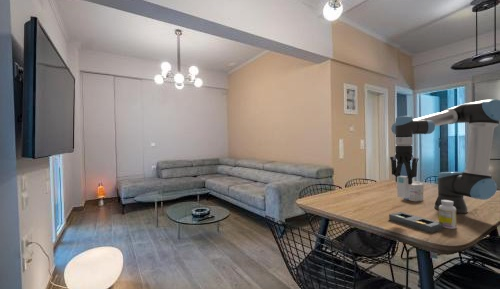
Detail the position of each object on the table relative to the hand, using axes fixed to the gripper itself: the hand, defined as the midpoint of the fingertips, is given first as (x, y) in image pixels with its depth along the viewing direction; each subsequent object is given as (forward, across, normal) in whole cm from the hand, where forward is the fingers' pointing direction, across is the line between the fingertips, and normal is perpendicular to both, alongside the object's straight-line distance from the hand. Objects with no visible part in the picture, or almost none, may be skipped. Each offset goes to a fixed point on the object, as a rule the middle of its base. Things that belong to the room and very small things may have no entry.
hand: (403, 189), depth 122 cm
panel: (+17, +5, 0) cm, 18 cm away
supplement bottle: (+17, +14, +11) cm, 25 cm away
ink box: (+17, -23, +49) cm, 57 cm away
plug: (+4, 0, 0) cm, 4 cm away
